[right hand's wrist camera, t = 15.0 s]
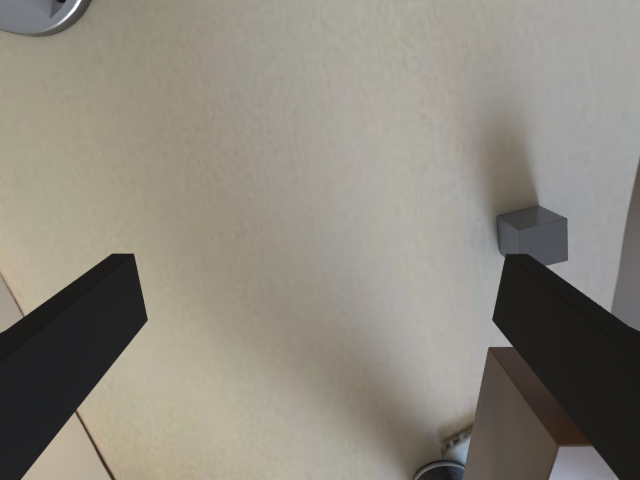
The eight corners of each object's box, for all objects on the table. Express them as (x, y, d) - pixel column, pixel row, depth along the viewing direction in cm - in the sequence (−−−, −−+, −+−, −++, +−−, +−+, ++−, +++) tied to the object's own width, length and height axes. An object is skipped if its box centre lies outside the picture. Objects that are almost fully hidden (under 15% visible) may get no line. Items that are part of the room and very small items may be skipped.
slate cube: (496, 215, 42) (518, 230, 37) (539, 205, 41) (567, 218, 37) (499, 253, 43) (521, 271, 39) (541, 243, 43) (568, 260, 38)
